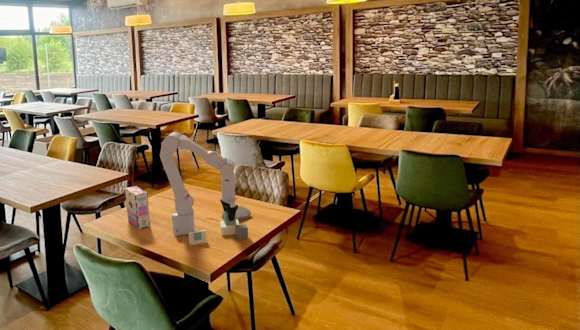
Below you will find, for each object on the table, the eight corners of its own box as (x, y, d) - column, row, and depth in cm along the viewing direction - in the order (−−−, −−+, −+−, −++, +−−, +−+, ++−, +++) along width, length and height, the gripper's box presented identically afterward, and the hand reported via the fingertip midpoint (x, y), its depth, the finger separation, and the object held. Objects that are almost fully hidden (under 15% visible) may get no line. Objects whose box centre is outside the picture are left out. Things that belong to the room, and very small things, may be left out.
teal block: (226, 225, 204) (225, 214, 203) (223, 222, 208) (223, 211, 207) (235, 224, 205) (235, 213, 204) (233, 220, 209) (233, 210, 208)
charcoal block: (238, 240, 198) (237, 229, 197) (235, 236, 202) (235, 225, 201) (248, 238, 200) (247, 227, 198) (245, 234, 204) (244, 224, 202)
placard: (190, 245, 193) (189, 234, 192) (188, 242, 196) (188, 231, 195) (206, 242, 196) (206, 231, 194) (205, 239, 198) (204, 228, 197)
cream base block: (221, 236, 203) (221, 227, 202) (220, 229, 211) (219, 220, 209) (240, 234, 205) (239, 226, 204) (238, 227, 212) (237, 219, 211)
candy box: (150, 226, 213) (147, 192, 208) (138, 230, 209) (134, 195, 205) (139, 218, 223) (136, 185, 219) (127, 220, 220) (124, 187, 216)
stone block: (252, 219, 226) (237, 211, 231) (253, 210, 224) (238, 202, 229) (235, 228, 217) (220, 219, 222) (236, 219, 215) (220, 210, 220)
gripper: (241, 191, 197) (242, 222, 201) (233, 182, 210) (234, 211, 214) (225, 193, 195) (226, 224, 198) (217, 184, 208) (218, 213, 211)
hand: (229, 217), depth 206 cm, fingers open, 7 cm apart
